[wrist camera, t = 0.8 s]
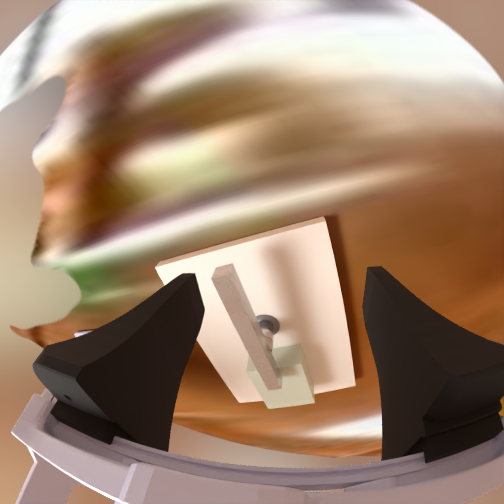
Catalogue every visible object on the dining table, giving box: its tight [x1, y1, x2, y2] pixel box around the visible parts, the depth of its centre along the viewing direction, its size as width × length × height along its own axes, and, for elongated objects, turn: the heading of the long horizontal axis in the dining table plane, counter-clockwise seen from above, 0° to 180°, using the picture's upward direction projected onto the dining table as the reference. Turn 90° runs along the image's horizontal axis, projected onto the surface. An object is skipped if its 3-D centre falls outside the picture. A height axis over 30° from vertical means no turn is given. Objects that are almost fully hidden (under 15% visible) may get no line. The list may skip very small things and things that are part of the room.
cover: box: [246, 343, 315, 409], centre depth 25 cm, size 5×7×2 cm
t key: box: [211, 263, 282, 391], centre depth 21 cm, size 2×12×4 cm, turn 19°
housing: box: [155, 216, 355, 403], centre depth 25 cm, size 14×20×1 cm
